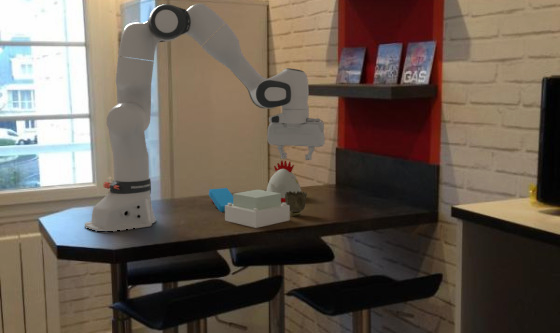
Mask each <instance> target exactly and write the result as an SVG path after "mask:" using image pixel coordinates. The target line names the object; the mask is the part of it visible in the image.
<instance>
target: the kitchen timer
mask: <svg viewBox="0 0 560 333" xmlns="http://www.w3.org/2000/svg"><path fill="white" fill-rule="evenodd" d="M291 164H292V163H291V161H288V163H287V160H284V161H283V160H280V163H279V162H278V163H277V164H276V165H277V166H276V165H274V166H273V167H274V168H273V169H274V170H275V172H274V174H273V175H272V176H271V177H270V179H269V181H268V184H267V187H266V191H270V192H276V193H281V203H286V200H285V194H286V192H289V191H291V192H294V191H295V193H297V192H298V191H299V192H300V191H301V192H302V187H301V185H300V183H299V180H298V178H297V177H296V175H295V174H294V173H293V172H292V171H293V170H294V167H295V164H292V165H291Z"/></svg>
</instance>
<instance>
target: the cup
mask: <svg viewBox="0 0 560 333" xmlns="http://www.w3.org/2000/svg"><path fill="white" fill-rule="evenodd" d="M285 200H286V202H285V203H286V205H290V216H291V217H300V216H301V215H302V211H303V210H304V209H305V207H306V204H307V203H306V202H307V191H302V190H301V191H300V192H299V191H298V192H297V193H295V191H294V192H291V191H289V192H286V194H285Z"/></svg>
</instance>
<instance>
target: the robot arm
mask: <svg viewBox="0 0 560 333" xmlns="http://www.w3.org/2000/svg"><path fill="white" fill-rule="evenodd" d="M182 35H187V36H188V37H190V38H192V39H193V40H194V41H195V42H196V43H197V44H198V45H199V46H200V47H201V48H202V49H203V51H205V52H206V54H208V55H209V56H210V57H212V58H213V59H214V60H216V61H217V62H219V63H221V64H222V65H223V66H225V67H226V68H227V69H229V70H230V71H231V72H232V73H233V75H234V76H235V77H236V78H237V79H238V80H239V81H240V82H241V84H243V85H244V87H245V88H246V89H247V91H248V95H249V98H250V100H251V102H252V103H253V105H255V106H256V107H258V108H260V109H268V110H269V109H271V110H272V109H275V108H278V107H281V113H277V114H275V115H271V116H269V118H268V122H269V125H268V127H267V135H266V136H267V143H268V144H269V145H271V146H277V151H278V152H279V155H280V156H279V157H280V159H283V160H284V159H288V156H287V155H288V153H287V152H285V150H284V148H285V146H288V147H290V146H295V147H307V150H309V151H308V153H307V154H305V155H304V156H305V160H306V161H311V160H312V158H313V157H312V156H313V153H314V151H315V149H316V148H320V147H323V146H324V145H325V144H326V142H325V140H326V139H325V131H324V130H325V123H324V121H323V120H322V119H320V118H319V117H317V118H313V117H310V116H309V114H310V113H309V111H310V108H309V105H308V104H309V103H308V100H309V94H310V93H309V80H308V75H307V73H306V72H305V71H303V70H301V69H298V68H297V69H296V68H289V67H288V68H287V67H286V68H284V69H283V70H282V71H280V72H279V73H277V74H275V75H272V76H271V77H269V78H267V77H264V76H262V75H261V74H260V73H259V72H258V71H257V70H256V68H255V67H253V65H252V64H251V63H250V62H249V60H247V58H246V57H245V56H244V54H243V51H242V49H241V45H240V40H239V38H238V36H237V35H236V33H235V32H234V30H233V29H232V28H231V26H230V25H228V23H227V22H226V21H225V20H224V19H223V18H222V17H221V16H220V15H219V14H217V12H215V11H214V10H213V9H212V8H210V7H209V6H207V5H206V4H205V3H202V2H201V3H199V2H198V3H194V4H193V5H190V6H189V7H188V8H187V9H186V8H181V7H179V6H177V5H174V4H167V3H164V4H163V3H162V4H159V5H158V6H156V7H155V8H153V9H152V11H151V12H150V15H149V17H148V19H147V21H145V22H131V23H128V24H127V25H126V26H125V27H124V29H123V32H122V36H121V38H120V43H119V48H118V55H117V65H116V74H115V85H116V86H115V87H116V104H115V105H114V106H113V107H112V108H110V110H109V112H108V114H107V116H106V126H107V129H108V136H109V142H110V145H111V150H112V158H113V161H112V162H113V178H114V179H113V180H112V181H111V182H109V181H104V183H103V184H102V186H103V188H105V189H109V192H108V193H107V194H106V195H105V196H104V197H103V198H102V199H101V200H100V201H99V202H97V203H96V205H95V206H93V209H92V213H91V221H87V222H84V228H85V227H87V228H89V229H93V230H97V231H113V232H118V231H117V230H120V231H126V229H128V230H134V229H133V228H135V229H140V228H142V229H143V228H149V227H151V226H152V225H153V224H154V223H155V222H156V221H157V220H156V217H155V214H154V210H153V205H152V198H151V193H152V180H151V178H150V165H149V164H150V163H149V162H150V161H149V153H148V148H147V143H146V136H145V131H146V130H147V129H148V127H149V125H150V124H151V116H152V115H151V112H152V80H153V72H154V64H155V55H156V54H155V52H156V47H157V46H158V44H159V43H164V42H172V41H175V40H176V39H178V38H179V37H181V36H182ZM87 228H86V229H87ZM89 229H88V230H89ZM97 231H96V232H97Z"/></svg>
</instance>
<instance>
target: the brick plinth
mask: <svg viewBox="0 0 560 333" xmlns="http://www.w3.org/2000/svg"><path fill="white" fill-rule="evenodd" d="M232 195H233V204H232V203H228V205H226V206H225V211H224V220H225V222H229V223H234V224H239V225H242V226H245V227H246V226H247V227H250V228H255V229H257V228H261V227H266V226H271V225H275V224H279V223H283V222H289V221H291V220H290V216H291V214H290V213H291V211H290V205H286V202H281V193H276V192H270V191H267V190H263V189H252V190H247V191H240V192H236V193H233V194H232Z"/></svg>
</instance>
